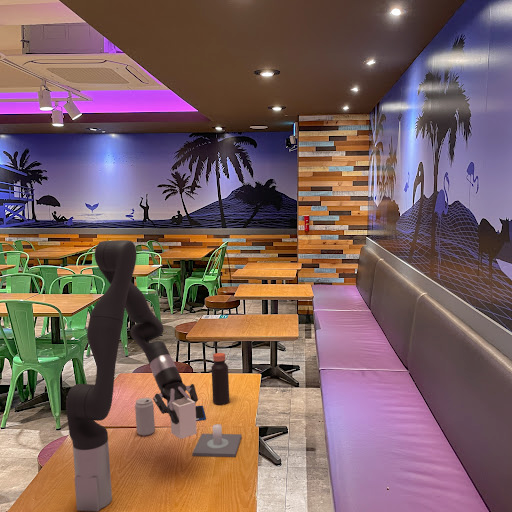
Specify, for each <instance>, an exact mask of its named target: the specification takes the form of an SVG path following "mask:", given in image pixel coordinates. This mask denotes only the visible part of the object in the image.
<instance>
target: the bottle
mask: <svg viewBox="0 0 512 512" xmlns="http://www.w3.org/2000/svg"><path fill="white" fill-rule="evenodd" d="M212 357H213V358H212V359H213V364H212V365H211V366H210V367H211V386H212V388H211V389H212V390H211V391H212V403H213V404H214V405H216V404H217V406H223V404H224V405H227V404H229V403H230V382H229V366H228V364H227V363H226V362H225V361H226V353H224V352H217V353H214V354H213V356H212Z"/></svg>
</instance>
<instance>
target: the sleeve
mask: <svg viewBox="0 0 512 512" xmlns="http://www.w3.org/2000/svg"><path fill="white" fill-rule="evenodd" d="M172 405H173V407H174V410H175V412H176V414H177V417H178V419H179V423H178V424H176V425H175V423H173V422H172V420H171V419H170V432H171V434H172V435H173V436H175V437H177V438H178V439H179V440H183V439H186V438H188V437H191V436H194V435H197V434H198V433H197V421H196V406H197V405H196V404H195V401H193V400H191V398H190V399H189V398H187V399H186V400H185V398H182V399H177V400H175V401H174V403H172Z"/></svg>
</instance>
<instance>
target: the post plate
mask: <svg viewBox="0 0 512 512" xmlns="http://www.w3.org/2000/svg"><path fill="white" fill-rule="evenodd" d="M222 429H223V428H222V424H220V423H219V424H218V423H217V424H213V425H212V433H201V434H200V437H199V439H198V441H197V443H196V445H195V446H194V449H193V451H192V452H191V453H192V457H217V458H219V457H220V458H221V457H223V458H224V457H225V458H227V457H228V458H236V455H237V452H238V450H239V446H240V444H239V443H241V441H242V436H243V435H242V434H239V433H238V434H235V433H222V432H223V431H222ZM240 440H241V441H240Z"/></svg>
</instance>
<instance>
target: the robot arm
mask: <svg viewBox="0 0 512 512" xmlns="http://www.w3.org/2000/svg"><path fill="white" fill-rule="evenodd" d="M137 253H138V251H137V248H136V245H135V243H134V242H133V241H132V240H127V239H126V240H125V239H124V240H123V239H122V240H117V239H116V240H102V241H100V242H98V243H97V245H96V247H95V250H94V260H95V263H96V265H97V267H98V269H99V270H100V272H101V273H102V274H103V276H104V277H105V279H106V281H107V282H108V283H109V287H108V288H107V290H106V291H105V292H104V293H103V295H102V296H101V297H100V298H99V300H98V301H97V303H95V305H94V307H93V309H92V310H91V312H90V315H89V316H90V317H89V321H88V326H87V330H86V331H87V332H86V336H87V338H86V339H87V341H88V345H89V347H90V350H91V353H92V355H93V357H94V362H95V365H96V366H95V367H96V374H95V375H96V376H95V382H94V384H92V383H91V384H89V383H76V384H74V385H73V386H71V387H70V389H68V390H69V391H68V393H67V395H66V399H65V400H66V403H65V407H66V408H65V410H66V411H65V412H66V419H67V427H68V434H69V438H70V439H71V441H72V449H73V450H72V451H73V465H74V466H73V467H74V487H75V488H74V489H75V490H74V491H75V501H76V502H75V503H76V511H78V512H79V511H81V512H99V511H101V509H103V508H105V507H107V506H108V505H109V504H110V503H112V500H113V492H112V478H111V477H112V476H111V464H110V463H111V462H110V461H111V460H110V448H109V447H110V446H109V433H108V429H107V428H106V427H105V426H103V425H101V424H100V423H98V422H97V421H103V420H105V419H106V418H107V417H108V415H109V413H110V410H111V407H112V405H113V404H112V403H113V396H114V386H115V372H116V365H117V364H116V363H117V357H118V351H119V346H120V345H119V344H120V340H121V335H122V330H123V324H124V317H125V311H126V313H127V316H128V318H129V319H130V321H131V322H132V323H134V325H133V324H132V326H131V328H130V336H131V338H132V339H133V341H134V342H135V343H136V344H137V346H138V347H139V348H141V350H142V351H143V353H144V355H145V357H146V359H147V361H148V363H149V366H150V370H151V372H152V376H153V377H154V380H155V383H156V385H157V388H158V389H159V391H160V393H155V394H154V396H153V398H152V401H153V403H155V405H156V406H157V408H158V410H159V411H160V413H161V414H162V415H165V414H167V415H169V417H170V421H171V420H172V422H173V423H175V425H176V424H178V423H179V419H178V417H177V414H176V412H175V410H174V407H173V405H172V403H174V401H175V400H177V399H182V398H185V400H186V399H187V398H189V399H191V400H193V401H195V405H196V404H197V402H198V400H199V398H198V394H197V390H196V386H195V384H194V383H191V384H190V385H186V384H184V383H183V379H182V376H181V374H180V373H179V370H178V367H177V365H176V364H175V361H174V360H173V358H172V357H171V355H170V352H169V350H168V348H167V345H166V344H165V343H164V341H161V340H159V341H154V342H150V341H153V340H154V339H158V338H160V337H161V336H162V335H163V334H164V324H163V323H162V321H161V320H160V319H159V318H158V317H157V316H156V315H155V314H154V313H153V312H152V310H151V308H150V306H149V304H148V301H147V299H146V296H145V295H144V293H143V292H142V291H141V289H139V288H138V286H136V285H135V284H134V283H133V282H132V279H133V274H134V271H135V268H136V263H137ZM186 391H187V392H186ZM163 399H165V400H166V403H165V402H164V400H163ZM196 417H197V410H196Z"/></svg>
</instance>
